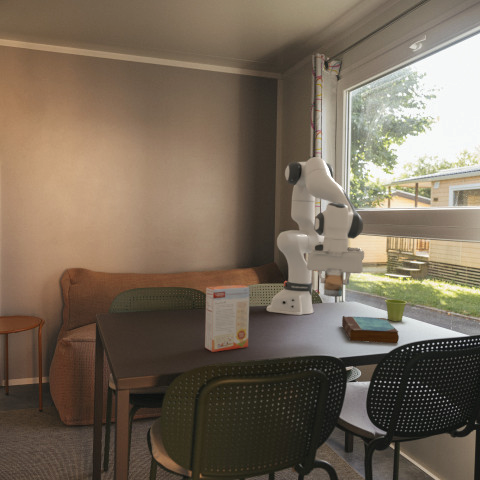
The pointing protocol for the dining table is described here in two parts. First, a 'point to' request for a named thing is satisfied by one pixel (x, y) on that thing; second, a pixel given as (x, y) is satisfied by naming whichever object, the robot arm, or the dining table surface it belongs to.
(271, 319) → the dining table surface
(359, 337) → the book
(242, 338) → the cracker box
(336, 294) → the glass jar
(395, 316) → the plant pot
